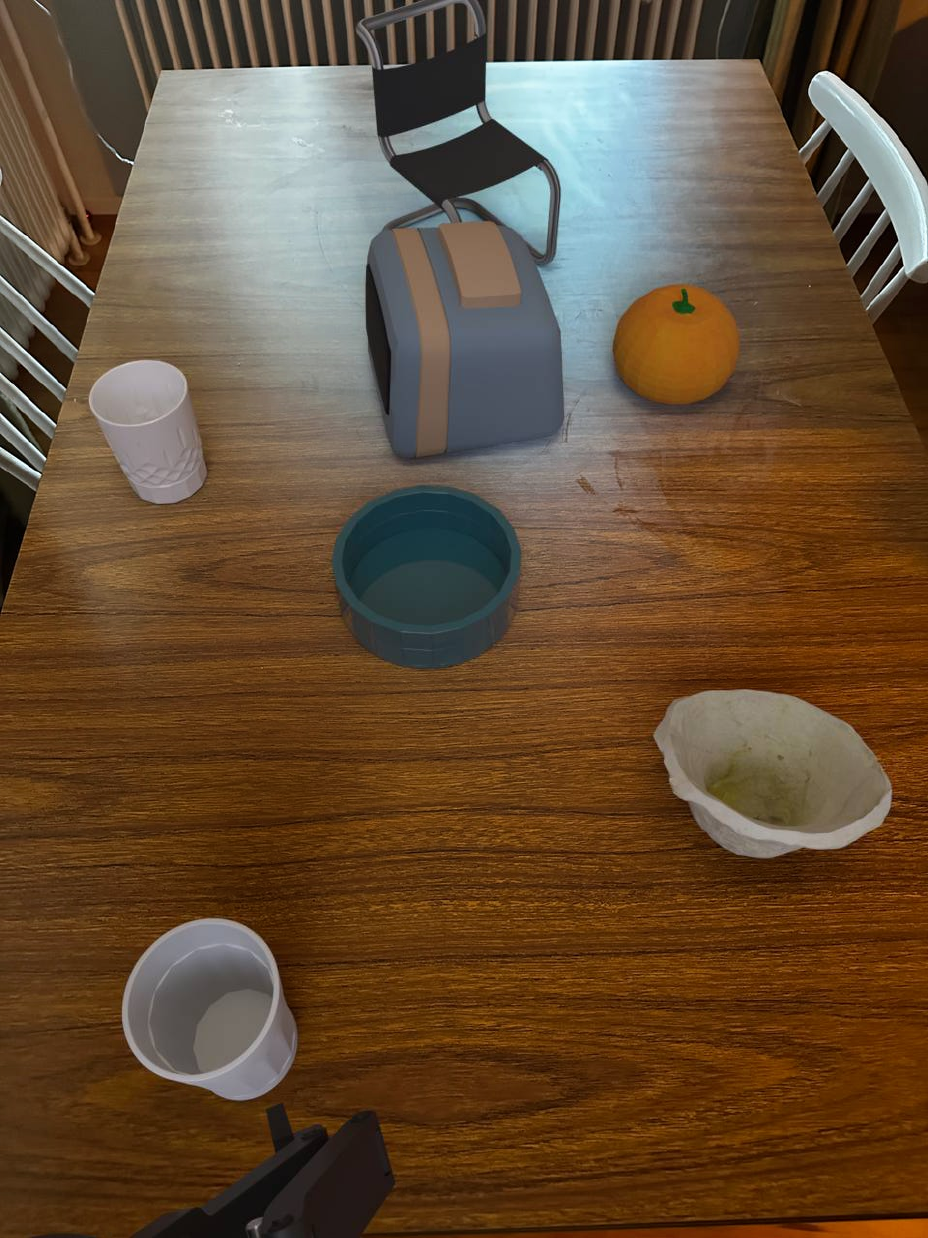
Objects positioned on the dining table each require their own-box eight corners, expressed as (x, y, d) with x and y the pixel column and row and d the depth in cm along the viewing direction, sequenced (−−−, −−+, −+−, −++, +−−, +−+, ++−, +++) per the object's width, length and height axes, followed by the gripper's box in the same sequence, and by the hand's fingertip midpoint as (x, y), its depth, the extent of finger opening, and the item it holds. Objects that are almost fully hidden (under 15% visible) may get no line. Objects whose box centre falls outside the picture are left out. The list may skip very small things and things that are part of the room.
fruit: (628, 429, 89) (644, 342, 80) (593, 347, 95) (604, 259, 87) (748, 410, 90) (775, 322, 82) (704, 331, 96) (726, 243, 88)
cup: (212, 1145, 55) (156, 1116, 46) (160, 1021, 59) (99, 970, 49) (333, 1065, 58) (306, 1022, 48) (276, 952, 62) (240, 890, 52)
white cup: (108, 475, 86) (70, 390, 77) (182, 432, 89) (153, 346, 80) (156, 524, 82) (121, 440, 74) (231, 478, 85) (206, 393, 77)
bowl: (852, 735, 70) (903, 664, 62) (852, 921, 63) (911, 867, 54) (650, 696, 72) (673, 622, 64) (626, 872, 65) (649, 812, 56)
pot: (355, 685, 73) (348, 650, 69) (327, 541, 81) (320, 502, 77) (539, 649, 75) (542, 612, 71) (493, 511, 83) (495, 471, 79)
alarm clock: (366, 353, 95) (349, 205, 82) (525, 331, 97) (534, 183, 84) (393, 471, 86) (379, 326, 73) (568, 444, 88) (586, 297, 74)
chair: (464, 196, 110) (463, -16, 92) (557, 272, 102) (576, 55, 84) (368, 235, 106) (348, 20, 88) (457, 317, 98) (455, 99, 80)
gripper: (-861, 2239, 14) (-225, 1469, 34) (623, 1407, 22) (434, 1177, 41) (-862, 1643, 16) (-255, 1241, 35) (517, 1066, 23) (384, 1001, 43)
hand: (116, 1206), depth 38 cm, fingers open, 13 cm apart
